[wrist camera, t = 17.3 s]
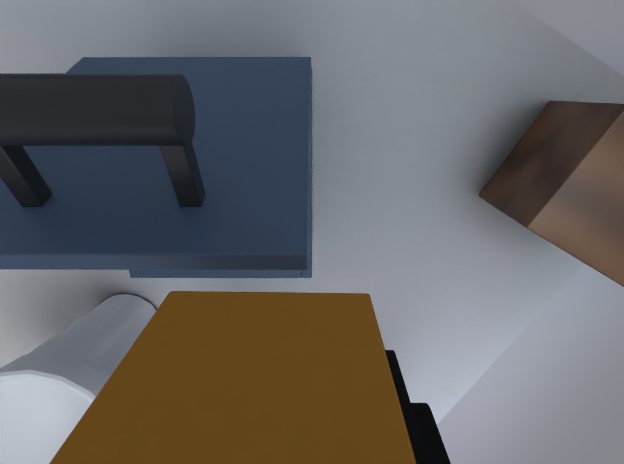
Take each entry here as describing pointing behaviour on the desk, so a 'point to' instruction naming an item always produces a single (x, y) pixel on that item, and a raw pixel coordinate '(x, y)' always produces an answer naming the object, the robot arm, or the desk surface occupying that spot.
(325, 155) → the desk surface
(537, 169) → the brown cube
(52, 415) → the cup
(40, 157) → the lid
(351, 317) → the mustard yellow cube
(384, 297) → the desk surface
